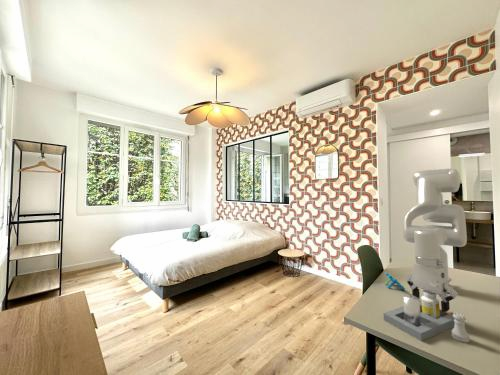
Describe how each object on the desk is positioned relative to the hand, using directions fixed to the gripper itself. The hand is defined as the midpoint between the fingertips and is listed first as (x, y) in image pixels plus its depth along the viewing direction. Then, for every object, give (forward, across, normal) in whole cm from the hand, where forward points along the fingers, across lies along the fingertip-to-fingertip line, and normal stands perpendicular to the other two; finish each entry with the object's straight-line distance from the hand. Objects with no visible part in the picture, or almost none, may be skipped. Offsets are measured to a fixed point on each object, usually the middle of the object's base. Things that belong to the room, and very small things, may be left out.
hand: (430, 304), depth 83 cm
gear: (+5, +22, -12) cm, 26 cm away
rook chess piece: (+5, -11, +5) cm, 13 cm away
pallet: (+5, 0, +6) cm, 8 cm away
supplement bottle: (+5, 0, 0) cm, 5 cm away
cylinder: (+5, 0, +11) cm, 12 cm away
